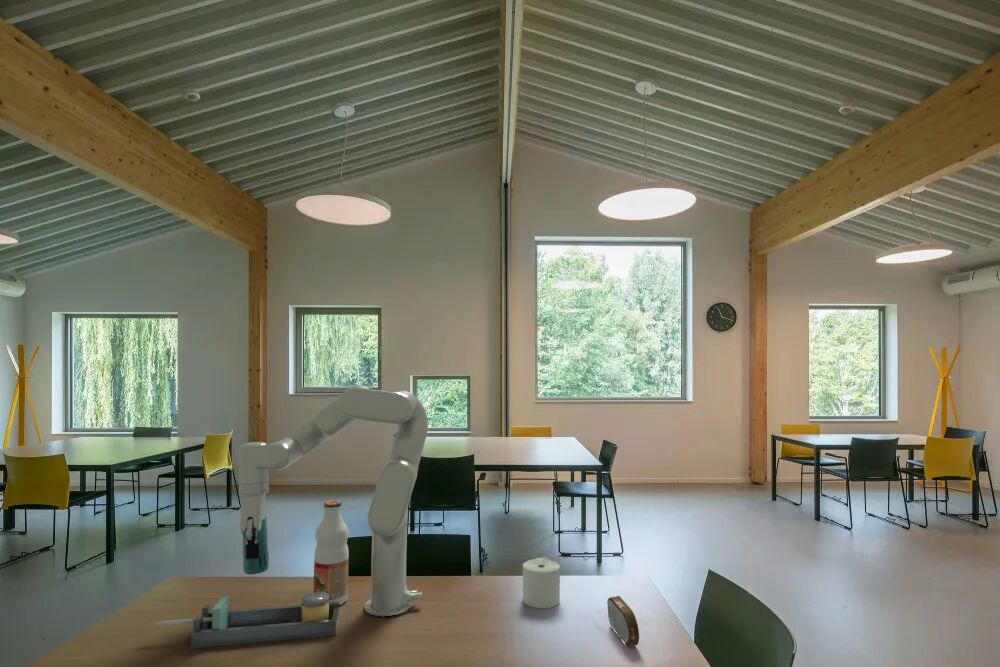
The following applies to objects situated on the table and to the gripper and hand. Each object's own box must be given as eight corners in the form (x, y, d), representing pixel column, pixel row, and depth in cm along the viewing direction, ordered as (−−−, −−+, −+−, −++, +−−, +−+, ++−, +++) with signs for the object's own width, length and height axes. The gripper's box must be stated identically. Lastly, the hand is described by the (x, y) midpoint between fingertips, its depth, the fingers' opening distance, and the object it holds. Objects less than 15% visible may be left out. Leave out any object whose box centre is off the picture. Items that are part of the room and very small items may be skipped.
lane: (339, 615, 150) (339, 592, 151) (335, 635, 139) (336, 610, 140) (205, 626, 144) (206, 602, 144) (190, 648, 133) (191, 622, 133)
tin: (640, 652, 132) (640, 615, 133) (627, 653, 132) (627, 616, 132) (616, 623, 147) (616, 590, 148) (605, 623, 147) (605, 591, 147)
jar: (330, 620, 148) (331, 591, 148) (327, 632, 141) (327, 602, 141) (303, 621, 146) (304, 592, 147) (298, 634, 140) (299, 603, 140)
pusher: (228, 625, 143) (229, 594, 144) (218, 641, 135) (219, 608, 136) (161, 631, 140) (162, 599, 141) (147, 648, 132) (148, 614, 132)
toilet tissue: (528, 610, 154) (528, 573, 155) (517, 593, 166) (517, 558, 166) (565, 607, 157) (565, 570, 157) (551, 590, 168) (551, 556, 169)
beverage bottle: (259, 580, 150) (257, 506, 150) (237, 579, 151) (235, 505, 152) (274, 571, 157) (271, 499, 157) (252, 570, 158) (250, 498, 158)
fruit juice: (345, 607, 155) (348, 505, 156) (310, 610, 153) (313, 506, 155) (349, 593, 164) (351, 497, 166) (315, 595, 163) (318, 498, 164)
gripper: (246, 482, 162) (247, 546, 161) (231, 496, 145) (232, 567, 144) (274, 480, 164) (275, 543, 163) (262, 493, 147) (263, 564, 146)
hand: (255, 553), depth 154 cm, fingers closed on beverage bottle, 5 cm apart
